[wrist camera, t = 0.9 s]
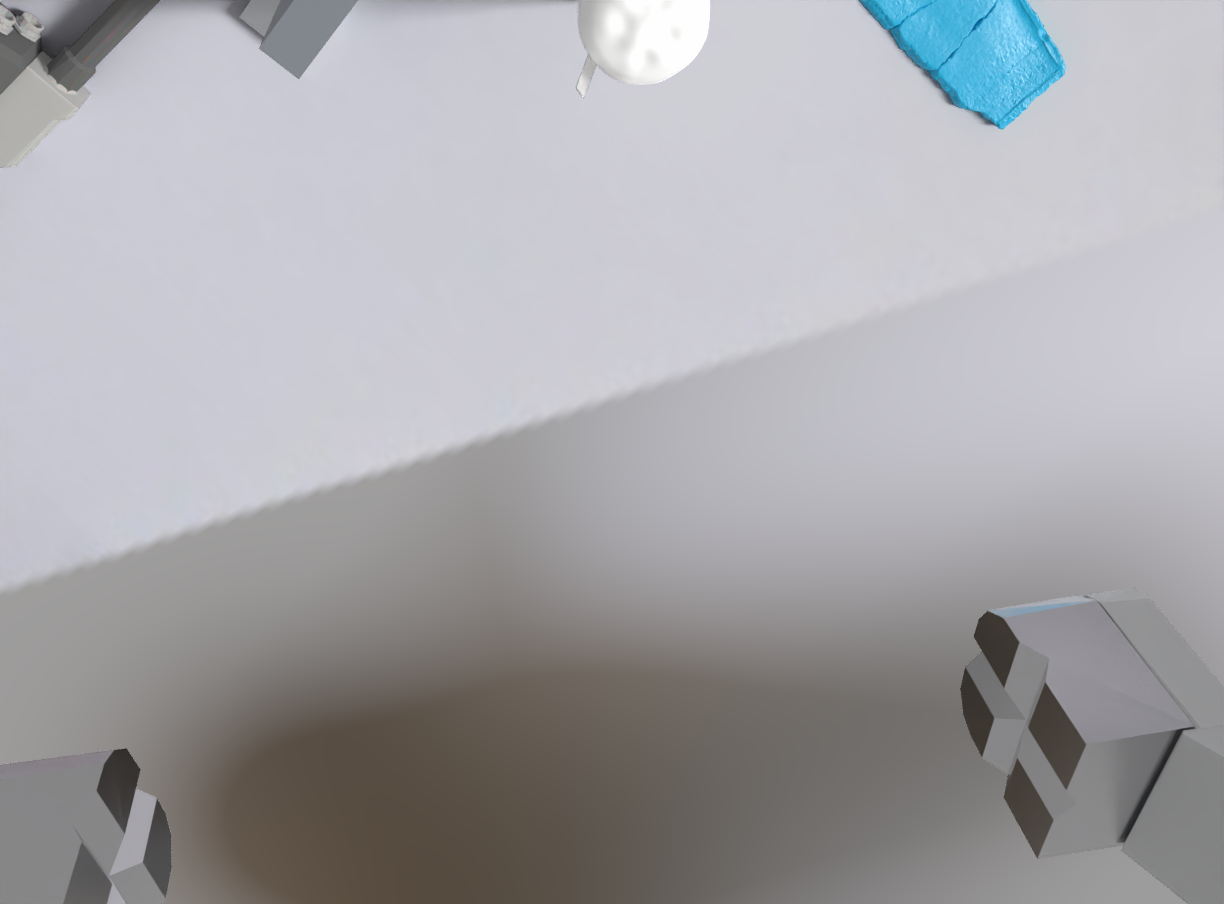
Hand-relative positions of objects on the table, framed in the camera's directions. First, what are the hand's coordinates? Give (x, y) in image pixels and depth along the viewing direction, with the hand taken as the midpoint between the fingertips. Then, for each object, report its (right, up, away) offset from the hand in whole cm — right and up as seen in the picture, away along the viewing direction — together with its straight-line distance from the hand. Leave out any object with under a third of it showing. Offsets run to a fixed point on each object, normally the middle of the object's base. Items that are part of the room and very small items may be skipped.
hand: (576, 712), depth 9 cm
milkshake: (0, +22, +30) cm, 37 cm away
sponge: (+15, +22, +34) cm, 43 cm away
